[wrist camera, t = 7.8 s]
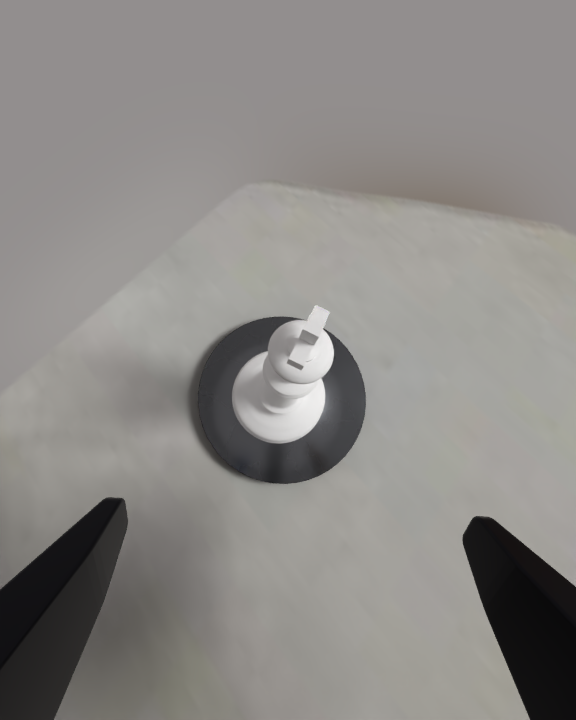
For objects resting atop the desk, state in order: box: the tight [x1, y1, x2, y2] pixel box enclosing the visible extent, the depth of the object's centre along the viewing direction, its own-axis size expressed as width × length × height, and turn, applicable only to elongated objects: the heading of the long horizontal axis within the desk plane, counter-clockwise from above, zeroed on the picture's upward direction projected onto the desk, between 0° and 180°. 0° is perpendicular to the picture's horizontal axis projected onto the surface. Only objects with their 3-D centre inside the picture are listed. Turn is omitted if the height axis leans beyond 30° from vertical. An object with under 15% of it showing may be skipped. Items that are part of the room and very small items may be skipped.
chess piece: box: [232, 305, 334, 444], centre depth 13 cm, size 5×5×10 cm
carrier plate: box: [198, 317, 366, 484], centre depth 18 cm, size 9×9×1 cm
